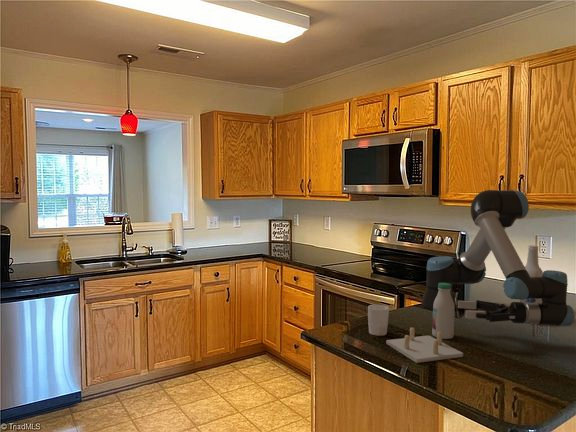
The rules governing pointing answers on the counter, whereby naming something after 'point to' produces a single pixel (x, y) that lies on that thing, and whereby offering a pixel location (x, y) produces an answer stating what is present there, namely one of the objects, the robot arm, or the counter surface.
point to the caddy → (424, 347)
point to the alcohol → (533, 267)
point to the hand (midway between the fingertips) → (461, 309)
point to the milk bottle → (443, 312)
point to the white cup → (378, 319)
